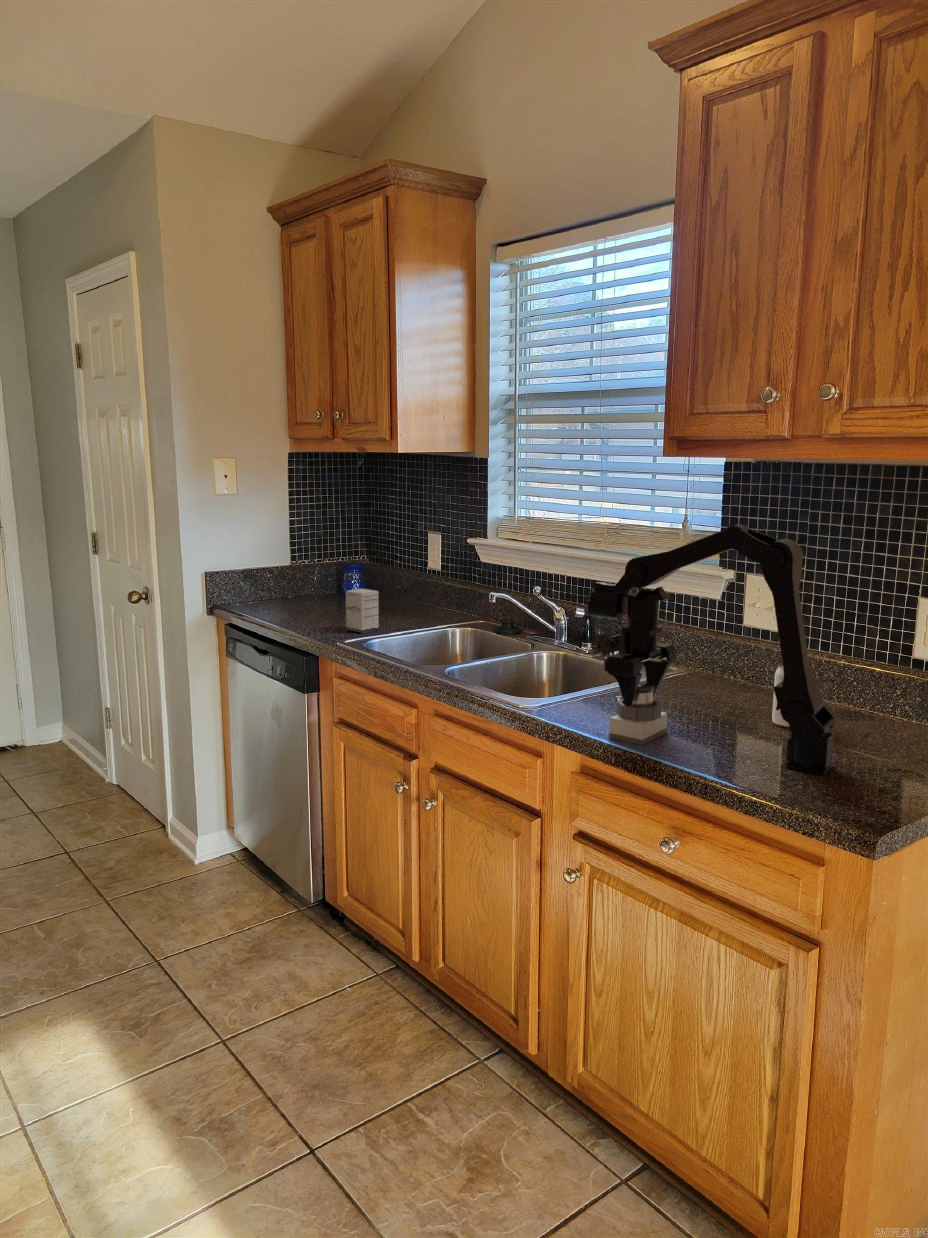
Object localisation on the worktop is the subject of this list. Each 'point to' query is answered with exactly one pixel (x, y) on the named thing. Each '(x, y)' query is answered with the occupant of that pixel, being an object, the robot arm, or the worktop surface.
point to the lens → (643, 695)
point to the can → (776, 713)
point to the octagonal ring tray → (638, 723)
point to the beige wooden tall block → (362, 609)
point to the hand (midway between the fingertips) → (639, 701)
